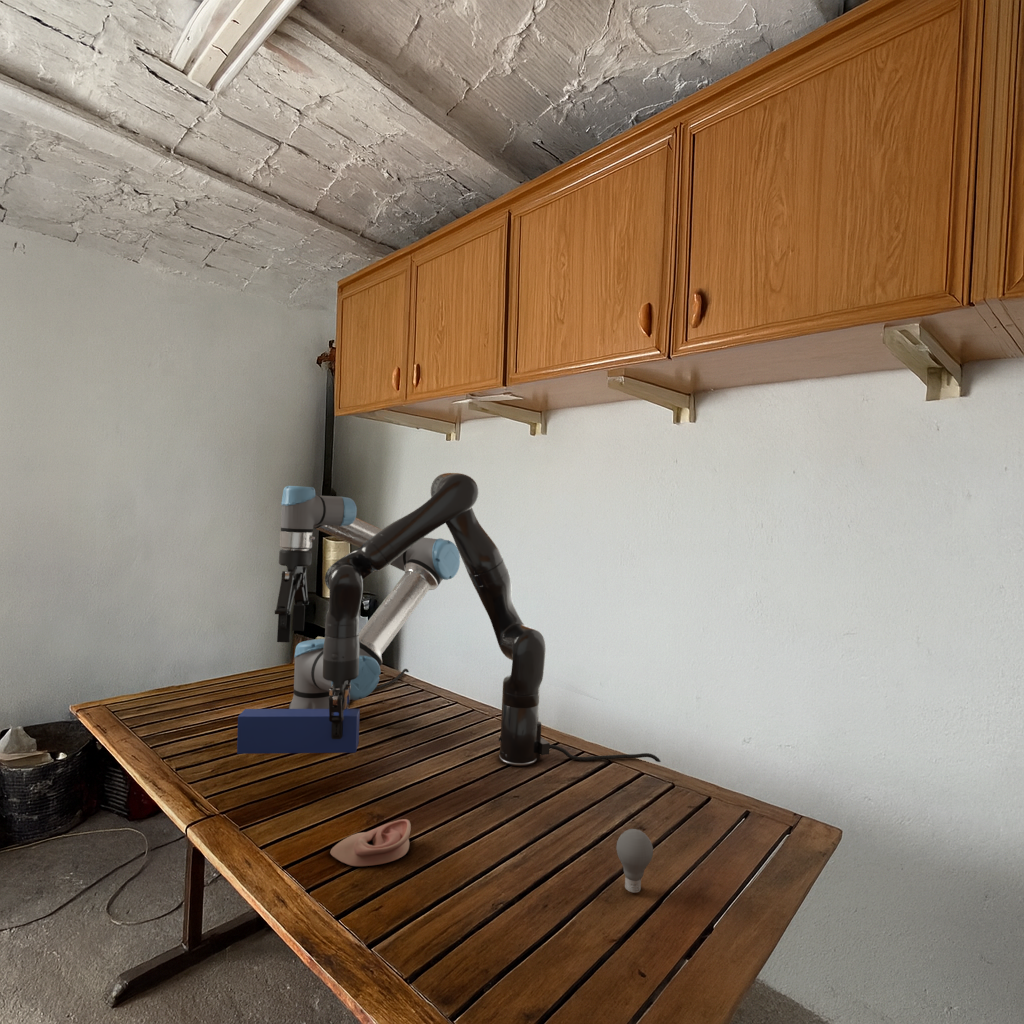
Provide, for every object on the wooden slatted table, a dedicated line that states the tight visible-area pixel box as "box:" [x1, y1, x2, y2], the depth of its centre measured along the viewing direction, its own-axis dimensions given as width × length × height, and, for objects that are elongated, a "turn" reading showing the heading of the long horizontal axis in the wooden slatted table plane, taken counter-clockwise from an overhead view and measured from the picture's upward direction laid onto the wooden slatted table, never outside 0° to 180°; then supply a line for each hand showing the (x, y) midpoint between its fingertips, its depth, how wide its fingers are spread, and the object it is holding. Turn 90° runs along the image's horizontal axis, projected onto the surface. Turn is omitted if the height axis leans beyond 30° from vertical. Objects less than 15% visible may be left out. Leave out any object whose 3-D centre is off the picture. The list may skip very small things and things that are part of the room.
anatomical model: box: [329, 818, 412, 867], centre depth 114 cm, size 13×4×12 cm
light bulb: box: [615, 828, 654, 894], centre depth 106 cm, size 6×6×10 cm
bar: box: [236, 708, 361, 755], centre depth 136 cm, size 24×5×8 cm, turn 96°
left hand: (291, 636), depth 154 cm, fingers open, 13 cm apart
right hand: (338, 733), depth 137 cm, fingers closed on bar, 5 cm apart
